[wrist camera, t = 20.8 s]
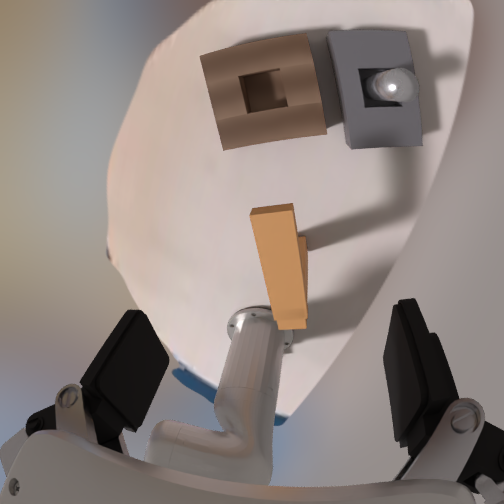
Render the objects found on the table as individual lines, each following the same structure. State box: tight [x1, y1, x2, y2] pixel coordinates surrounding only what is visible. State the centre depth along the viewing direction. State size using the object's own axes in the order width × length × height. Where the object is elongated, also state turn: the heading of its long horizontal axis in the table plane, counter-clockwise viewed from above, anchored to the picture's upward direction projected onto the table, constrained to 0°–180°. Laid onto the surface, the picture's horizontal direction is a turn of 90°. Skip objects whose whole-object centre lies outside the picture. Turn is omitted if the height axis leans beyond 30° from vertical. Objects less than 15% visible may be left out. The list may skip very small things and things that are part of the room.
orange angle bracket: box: [250, 203, 308, 330], centre depth 32 cm, size 14×4×15 cm, turn 13°
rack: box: [326, 30, 423, 149], centre depth 25 cm, size 14×9×4 cm, turn 13°
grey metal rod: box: [362, 68, 419, 102], centre depth 22 cm, size 3×3×10 cm
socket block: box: [200, 33, 327, 151], centre depth 28 cm, size 12×12×4 cm
